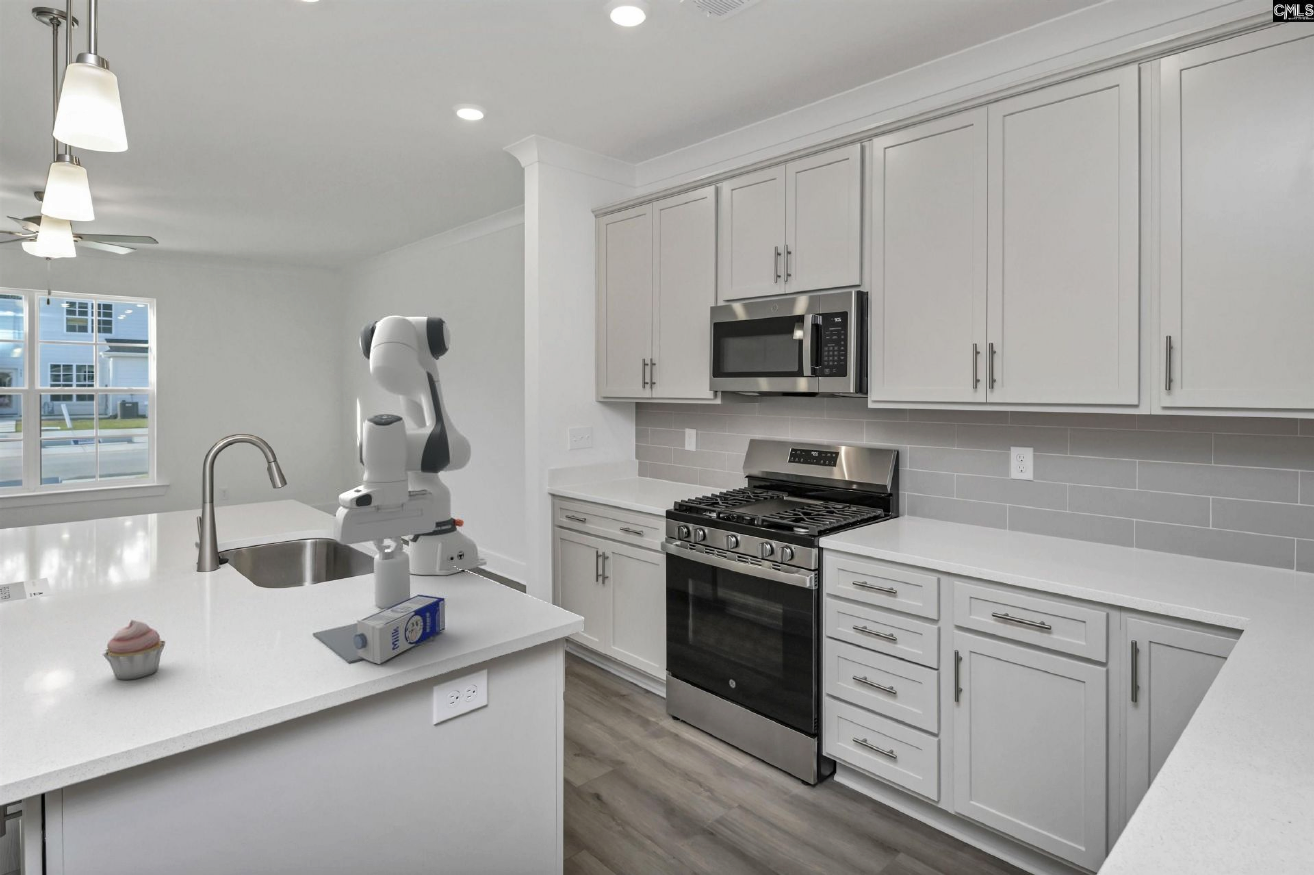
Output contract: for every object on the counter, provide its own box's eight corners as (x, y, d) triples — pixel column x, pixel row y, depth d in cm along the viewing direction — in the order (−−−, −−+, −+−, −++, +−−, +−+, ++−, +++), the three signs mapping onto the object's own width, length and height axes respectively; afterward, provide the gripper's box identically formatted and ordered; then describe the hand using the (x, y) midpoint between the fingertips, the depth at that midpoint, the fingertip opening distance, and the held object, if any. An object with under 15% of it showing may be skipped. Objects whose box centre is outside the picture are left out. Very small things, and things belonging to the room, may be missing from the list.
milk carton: (445, 629, 152) (379, 665, 133) (418, 625, 154) (350, 659, 136) (444, 597, 152) (378, 628, 133) (418, 593, 154) (349, 623, 135)
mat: (392, 616, 161) (392, 615, 161) (433, 641, 147) (433, 639, 147) (312, 635, 149) (312, 633, 149) (348, 663, 135) (348, 661, 135)
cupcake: (100, 672, 130) (97, 619, 129) (161, 659, 136) (159, 607, 135) (107, 689, 123) (104, 632, 122) (172, 674, 129) (169, 620, 129)
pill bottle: (367, 607, 167) (366, 544, 166) (388, 597, 175) (387, 537, 174) (397, 610, 166) (396, 547, 164) (417, 600, 173) (416, 539, 172)
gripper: (426, 486, 157) (427, 548, 158) (330, 496, 143) (332, 564, 144) (440, 490, 153) (441, 553, 154) (341, 500, 139) (343, 570, 140)
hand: (387, 559), depth 149 cm, fingers closed
